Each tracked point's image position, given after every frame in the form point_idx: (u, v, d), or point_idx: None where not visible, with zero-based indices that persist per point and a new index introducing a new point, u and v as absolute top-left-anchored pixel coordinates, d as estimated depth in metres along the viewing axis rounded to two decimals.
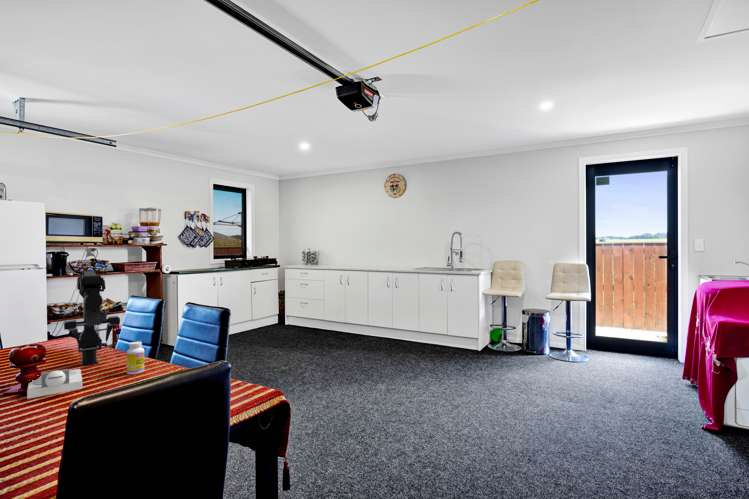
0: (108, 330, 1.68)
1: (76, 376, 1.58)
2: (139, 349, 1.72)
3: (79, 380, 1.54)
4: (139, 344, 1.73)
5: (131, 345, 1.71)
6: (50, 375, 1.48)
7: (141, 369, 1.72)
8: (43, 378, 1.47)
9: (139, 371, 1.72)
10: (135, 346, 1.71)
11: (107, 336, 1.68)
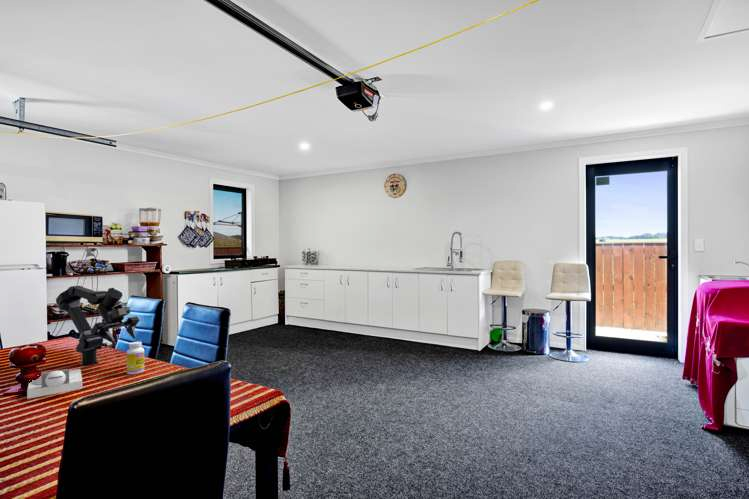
0: (132, 327, 1.82)
1: (76, 376, 1.58)
2: (139, 349, 1.72)
3: (79, 380, 1.54)
4: (139, 344, 1.73)
5: (131, 345, 1.71)
6: (50, 375, 1.48)
7: (141, 369, 1.72)
8: (43, 378, 1.47)
9: (139, 371, 1.72)
10: (135, 346, 1.71)
11: (134, 332, 1.81)
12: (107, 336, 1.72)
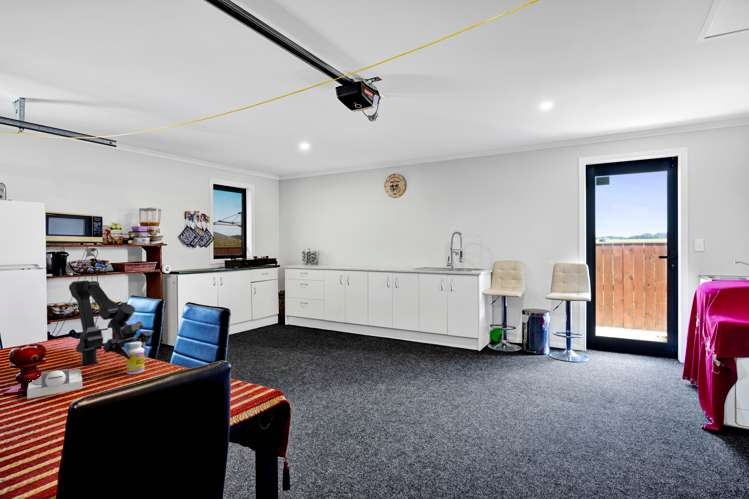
0: (143, 343, 1.78)
1: (76, 376, 1.58)
2: (139, 349, 1.72)
3: (79, 380, 1.54)
4: (139, 344, 1.73)
5: (131, 345, 1.71)
6: (50, 375, 1.48)
7: (141, 369, 1.72)
8: (43, 378, 1.47)
9: (139, 371, 1.72)
10: (135, 346, 1.71)
11: (144, 348, 1.77)
12: (123, 352, 1.70)
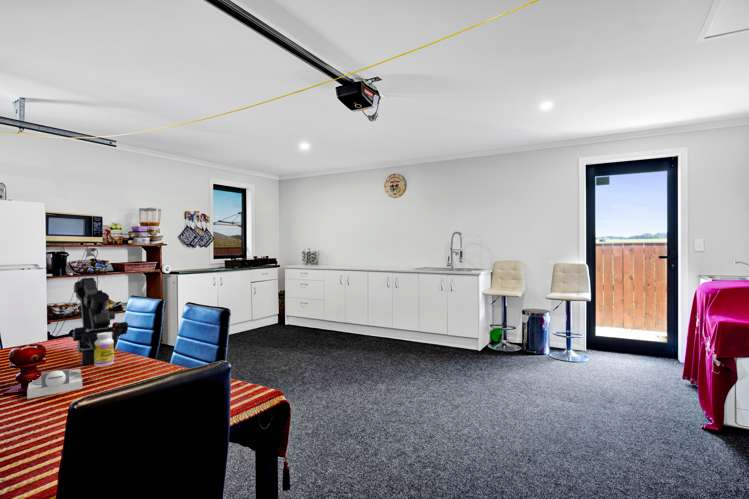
0: (115, 334, 1.68)
1: (76, 376, 1.58)
2: (105, 340, 1.62)
3: (79, 380, 1.54)
4: (105, 335, 1.63)
5: (97, 336, 1.62)
6: (50, 375, 1.48)
7: (106, 362, 1.62)
8: (43, 378, 1.47)
9: (104, 364, 1.62)
10: (101, 337, 1.62)
11: (115, 340, 1.66)
12: (89, 342, 1.62)
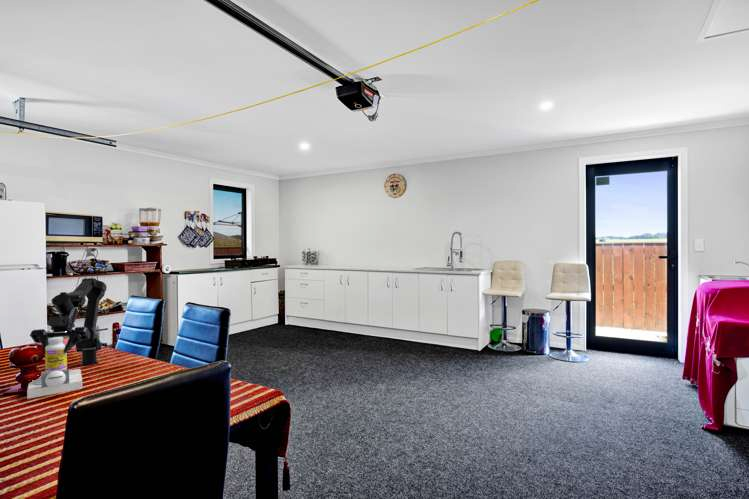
0: (69, 339, 1.59)
1: (76, 376, 1.58)
2: (52, 346, 1.54)
3: (79, 380, 1.54)
4: (53, 340, 1.55)
5: (48, 340, 1.55)
6: (50, 375, 1.48)
7: (53, 369, 1.54)
8: (43, 378, 1.47)
9: (50, 370, 1.54)
10: (49, 342, 1.55)
11: (66, 346, 1.57)
12: None
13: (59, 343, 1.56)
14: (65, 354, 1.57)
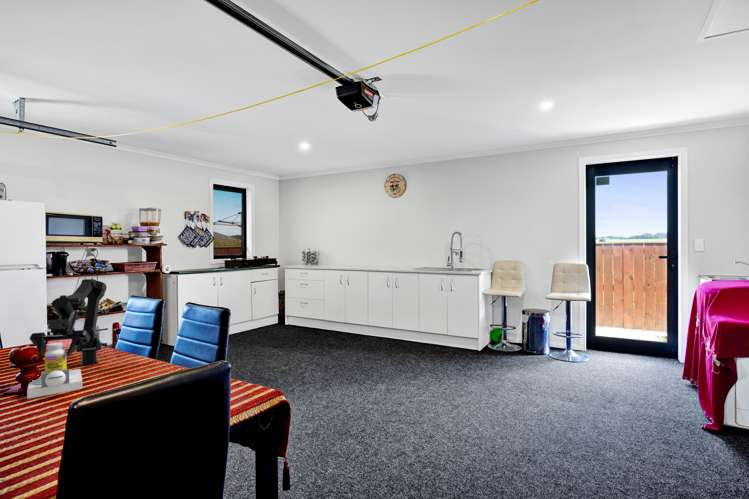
0: (72, 342, 1.59)
1: (76, 376, 1.58)
2: (52, 352, 1.54)
3: (79, 380, 1.54)
4: (53, 346, 1.55)
5: (48, 346, 1.56)
6: (50, 375, 1.48)
7: None
8: (43, 378, 1.47)
9: None
10: (49, 348, 1.55)
11: (69, 349, 1.58)
12: None
13: (59, 349, 1.56)
14: (65, 360, 1.57)
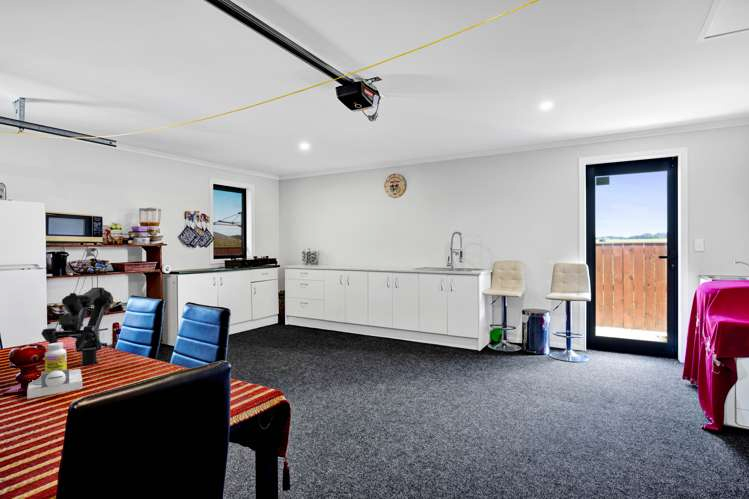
0: (81, 337, 1.68)
1: (76, 376, 1.58)
2: (52, 352, 1.54)
3: (79, 380, 1.54)
4: (53, 346, 1.55)
5: (48, 346, 1.56)
6: (50, 375, 1.48)
7: None
8: (43, 378, 1.47)
9: None
10: (49, 348, 1.55)
11: (79, 343, 1.66)
12: None
13: (59, 349, 1.56)
14: (65, 360, 1.57)
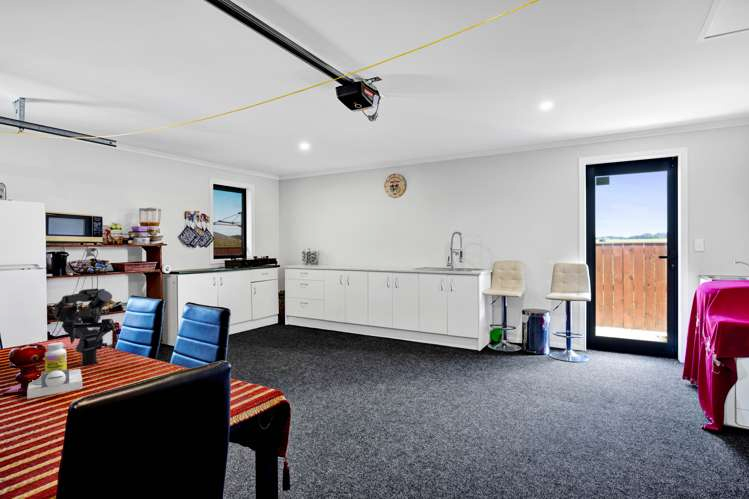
0: (100, 329, 1.76)
1: (76, 376, 1.58)
2: (52, 352, 1.54)
3: (79, 380, 1.54)
4: (53, 346, 1.55)
5: (48, 346, 1.56)
6: (50, 375, 1.48)
7: None
8: (43, 378, 1.47)
9: None
10: (49, 348, 1.55)
11: (97, 335, 1.75)
12: None
13: (59, 349, 1.56)
14: (65, 360, 1.58)
